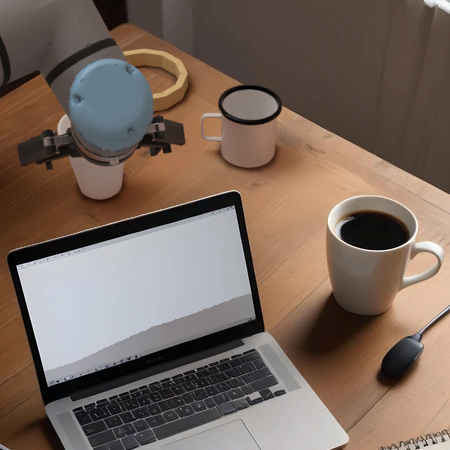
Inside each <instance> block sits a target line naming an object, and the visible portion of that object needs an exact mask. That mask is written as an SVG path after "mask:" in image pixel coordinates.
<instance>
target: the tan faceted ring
mask: <svg viewBox="0 0 450 450" xmlns="http://www.w3.org/2000/svg"><path fill="white" fill-rule="evenodd" d="M122 52H123V54H124V55H125V57H126V59H127V61H128V62H129V64H131V65H133V66H134V67H135V68H136V67H141V66H142V67H143V66H146V67H154V68H161V69H163V70H165V71H167V72H169V73H171V74H172V75H173V76H175V77H176V79H177V80H176V82H175V84H174V85H172V86H171V87H168V88H167V89H165V90H164V91H161V92H157V93H152V94H153V105H154V107H153V112H159V111H165V110H167V109H169V108H170V107H173V105H175V104H177V103H179V102H180V101H182V100H183V98H184V96H185V94H186V92H187V89H188V88H189V73H188V71H187V69H186V67H185V65H184V63H183V61H182V60H181V59H180V58H177V57H176V56H174V55H172V54H170V53H168V52H167V51H163V50H156V49H150V48H138V49H130V50H125V51H124V50H123V51H122Z"/></svg>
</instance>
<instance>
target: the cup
mask: <svg viewBox="0 0 450 450" xmlns="http://www.w3.org/2000/svg"><path fill="white" fill-rule="evenodd" d="M70 127H71V121H70V120H69V118H68V116H67V114H66V113H64V115H63V116H62V117H61V118H60V120H59V121H58V124H57V131H56V132H57V136H59V135H62V134H65V133H66V131H67V129H68V128H70ZM67 158H68V160H69V163H70V165H71V169H72V170H73V173H74V176H75V179H76V182H77V184H78V187H79V190H80V192H81V193H82V194H83V195H84V196H86V197H87V198H89V199H92V200H93V199H94V200H106V199H110V198H112V197H114V196H115V195H117V194H119V192H120V190H121V189H122V185H123V178H124V167H125V161H124V162H123V163H121V164H118V165H116V166H99V165H95V164H93V163H91V162H89V161H87V160H86V159H84V158H83V157H81V158H72V157H71V156H68V157H67Z"/></svg>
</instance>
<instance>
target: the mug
mask: <svg viewBox="0 0 450 450" xmlns="http://www.w3.org/2000/svg"><path fill="white" fill-rule="evenodd" d="M217 108H218V111H219V112H206V113H203V114H201V116H200V117H201V118H200V135H201V139H202V140H203V141H205V142H213V143H220V153H221V155H222V157H223V159H224V160H225V161H227V162H228V163H229V164H231V165H234V166H236V167H241V168H257V167H261V166H264V165H266V164H267V163H269V162H271V160H272V159H273V158H274V157H275V153H276V151H275V150H276V142H277V141H276V139H277V129H278V128H277V127H278V117H279V116H280V115H281V112H282V111H283V101H282V98H281V97H280V95H279V94H278V93H277V92H276V91H274V90H273V89H270V88H269V87H267V86H263V85H259V84H253V83H247V84H246V83H244V84H237V85H234V86H232V87H229V88H227V89H226V90H224V91H223V92H222V93H221V94H220V95H219V98H218V101H217ZM207 118H210V119H221V121H220V122H221V123H220V125H221V126H220V127H221V128H220V130H221V131H220V136H207V135H205V134H204V133H205V132H204V131H205V129H204V120H205V119H207Z"/></svg>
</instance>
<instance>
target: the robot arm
mask: <svg viewBox="0 0 450 450" xmlns="http://www.w3.org/2000/svg"><path fill="white" fill-rule="evenodd" d="M123 52H124V51H122V48H121V47H120V46H119V45H118V43H117V42H116V40H115V39H114V38H113V36H112V35H111V33H110V31H109V29H108V27H107V25H106V23H105V22H104V20H103V18H102V15H101V14H100V12H99V10H98V8H97V7H96V5H95V2H94V0H0V88H1V87H2V86H4V85H5V86H6V85H8V84H9V83H12V82H14V81H16V80H19V79H21V78H23V77H25V76H28V75H31V74H32V73H34V72H36V71H38V72H39V73H40V75H41V76H42V77H43V79H44V80H45V82H46V84H47V85H48V87H49V88H50V89H51V91H52V93H53V95H54V96H55V98H56V99H57V101H58V103H59V105H60V107H61V108H62V109H63V111H64V114H67V116H68V118H69V120H70V121H71V127H70V128H68V129H67V131H66V133H65V134H62V135H58V131H56V130H55V131H54V130H53V129H50V128H47V129H44V130H42V131H41V133H39V134H38V135H36V136H31V137H30V138H28V139H27V140H25V141H22V142H20V143H17V144H16V149H17V156H18V161H19V166H21V167H28V166H30V165H32V164H34V163H35V165H38V166H41V165H43V164H45V167H46V170H47V171H49V170H50V171H51V170H54V166H53V162H54V161H58V160H60V159H65V158H69V157H68V156H71V157H72V158H81V157H83V158H84V159H86V160H87V161H89V162H91V163H93V164H95V165H99V166H116V165H118V164H121V163H123V162H124V163H125V162H126V161H128V160H129V159H130V158H131V157H132V156H133V154H134V153H135V152H136V150H137V151H138V150H141V148H149V154H150V157H156V156H158V155H159V153H160V152H161V150H162V154H164V155H166V154H171V153H172V152H173V149H172V145H175V146H179V147H180V146H184V145H186V144H187V141H186V135H185V128H184V124H183V123H182V122H179V121H174V120H170V119H167V118H164V115H160V114H156V115H155V116H154V115H153V114H154V113H155V111H153V107H154V105H153V94H154V93H153V90H152V88H151V86H150V83H149V81H148V79H147V77H146V76H145V75H144V74H143V73H142V72H141V71H140V69H138V68H136V67H134V66H133V65H131V64H129V62H128V61H127V59H126V57H125V55H124V54H123Z"/></svg>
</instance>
